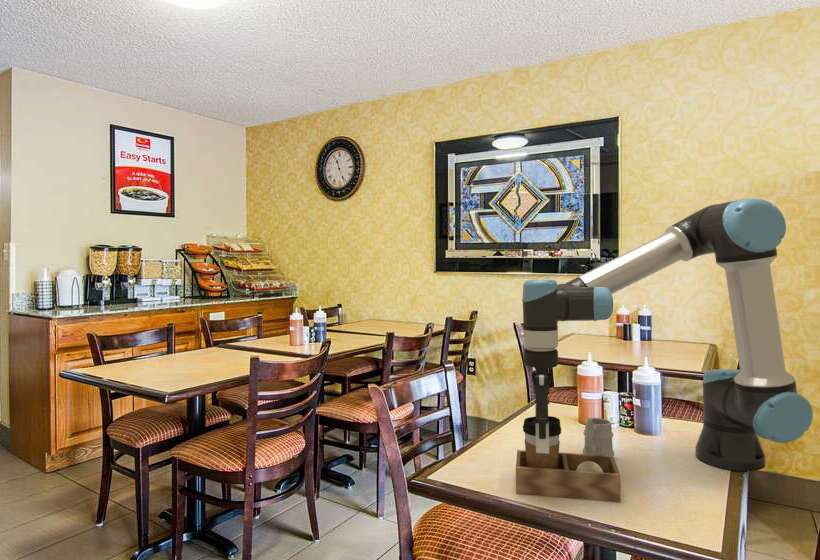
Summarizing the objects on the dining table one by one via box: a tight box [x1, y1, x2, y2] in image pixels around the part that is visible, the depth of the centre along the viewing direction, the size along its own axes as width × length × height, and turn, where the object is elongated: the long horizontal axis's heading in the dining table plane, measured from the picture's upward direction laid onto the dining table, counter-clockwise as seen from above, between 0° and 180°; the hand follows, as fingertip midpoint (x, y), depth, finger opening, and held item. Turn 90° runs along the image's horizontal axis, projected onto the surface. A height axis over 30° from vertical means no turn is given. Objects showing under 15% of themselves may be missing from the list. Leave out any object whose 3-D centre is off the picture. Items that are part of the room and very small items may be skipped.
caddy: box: [515, 449, 622, 503], centre depth 116 cm, size 21×11×6 cm, turn 77°
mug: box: [582, 417, 615, 458], centre depth 133 cm, size 8×12×12 cm, turn 142°
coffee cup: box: [522, 415, 562, 469], centre depth 118 cm, size 8×8×15 cm
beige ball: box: [576, 461, 603, 473], centre depth 115 cm, size 6×6×6 cm
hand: (542, 442), depth 117 cm, fingers open, 13 cm apart
